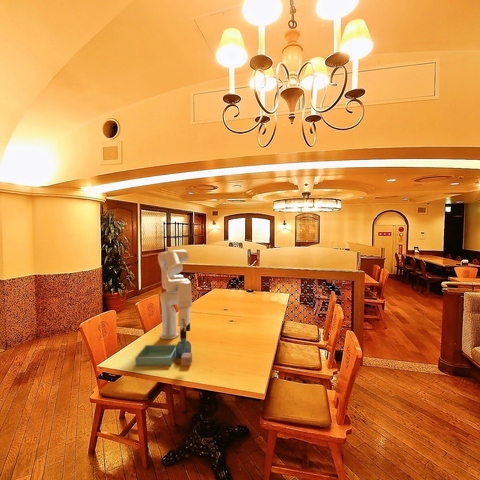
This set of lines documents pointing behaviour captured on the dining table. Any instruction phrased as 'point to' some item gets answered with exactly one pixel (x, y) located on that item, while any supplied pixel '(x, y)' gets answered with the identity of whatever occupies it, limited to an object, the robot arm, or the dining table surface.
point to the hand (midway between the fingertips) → (185, 334)
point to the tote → (156, 355)
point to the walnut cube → (186, 359)
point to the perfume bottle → (183, 347)
